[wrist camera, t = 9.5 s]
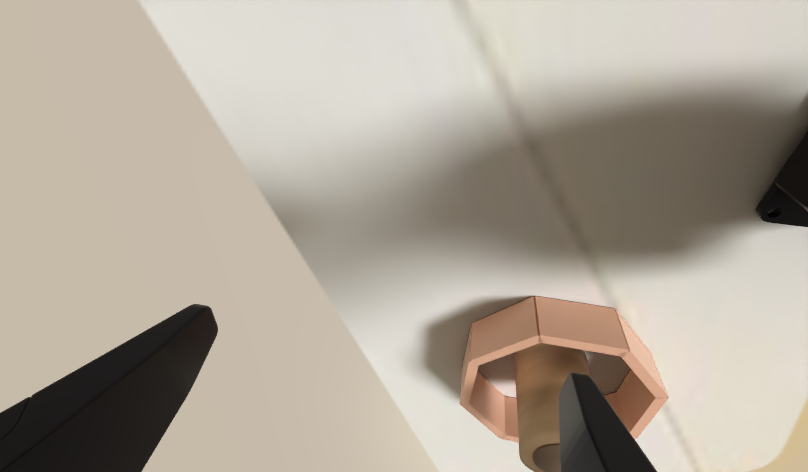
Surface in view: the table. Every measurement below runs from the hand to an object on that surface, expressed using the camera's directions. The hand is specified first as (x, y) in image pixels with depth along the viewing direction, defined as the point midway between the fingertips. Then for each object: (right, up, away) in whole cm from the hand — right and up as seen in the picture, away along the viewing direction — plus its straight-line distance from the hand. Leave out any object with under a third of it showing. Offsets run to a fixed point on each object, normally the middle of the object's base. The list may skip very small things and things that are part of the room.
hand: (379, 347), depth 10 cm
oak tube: (+11, -6, +17) cm, 21 cm away
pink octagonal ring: (+10, -6, +17) cm, 21 cm away
